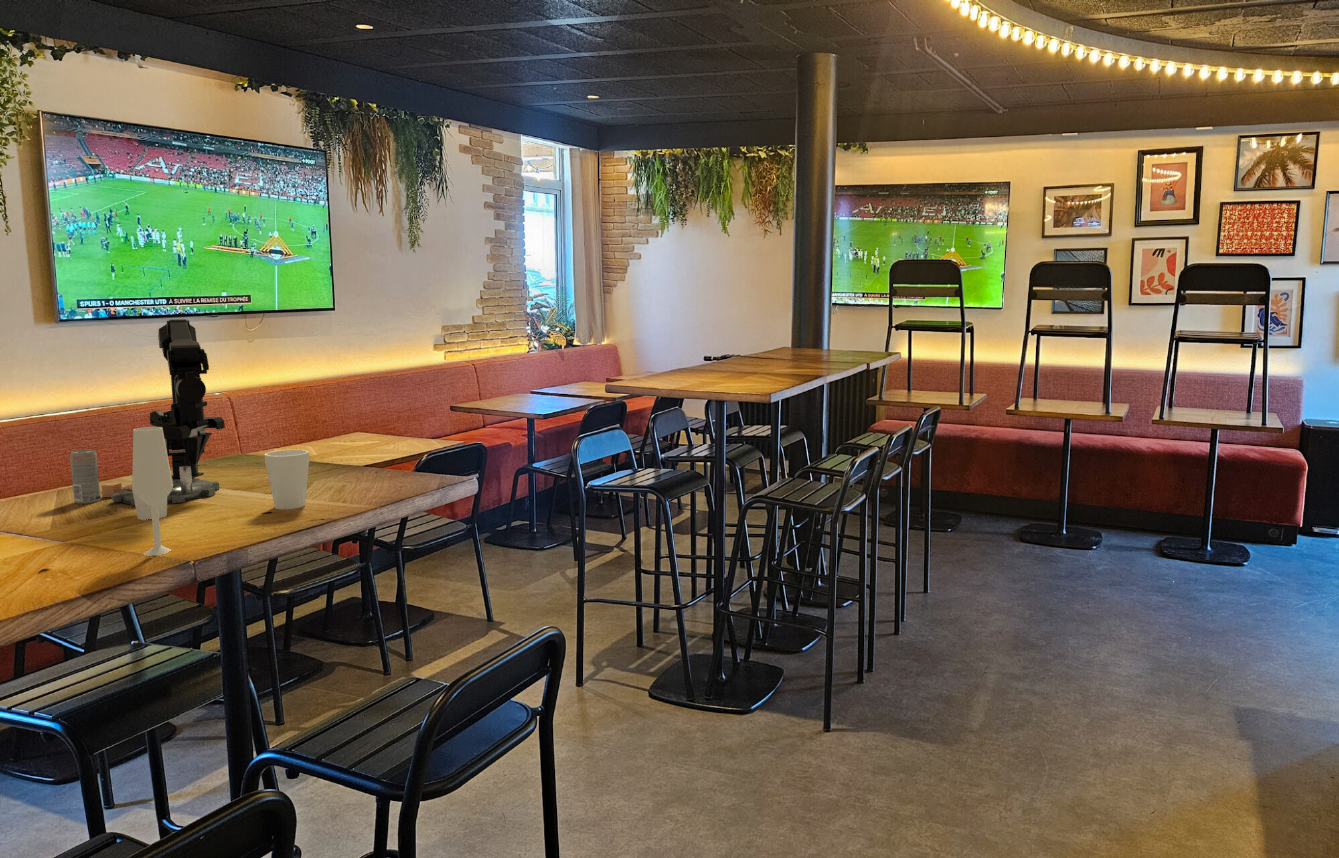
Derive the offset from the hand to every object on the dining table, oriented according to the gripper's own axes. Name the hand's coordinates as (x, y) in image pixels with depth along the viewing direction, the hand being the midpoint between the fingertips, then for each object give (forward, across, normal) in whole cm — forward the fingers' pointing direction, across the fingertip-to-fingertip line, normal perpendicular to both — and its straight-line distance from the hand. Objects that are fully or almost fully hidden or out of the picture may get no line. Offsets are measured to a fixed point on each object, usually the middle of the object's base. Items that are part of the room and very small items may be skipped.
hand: (194, 464), depth 228 cm
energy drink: (+9, +4, -25) cm, 27 cm away
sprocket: (+9, -2, -9) cm, 13 cm away
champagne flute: (+9, +47, +21) cm, 52 cm away
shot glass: (+9, +19, +1) cm, 21 cm away
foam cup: (+9, +8, +27) cm, 30 cm away
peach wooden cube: (+9, -2, -23) cm, 25 cm away
